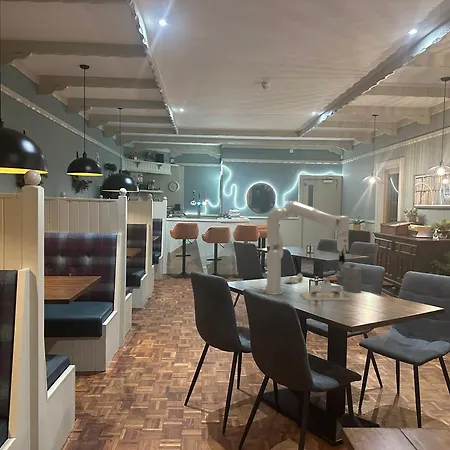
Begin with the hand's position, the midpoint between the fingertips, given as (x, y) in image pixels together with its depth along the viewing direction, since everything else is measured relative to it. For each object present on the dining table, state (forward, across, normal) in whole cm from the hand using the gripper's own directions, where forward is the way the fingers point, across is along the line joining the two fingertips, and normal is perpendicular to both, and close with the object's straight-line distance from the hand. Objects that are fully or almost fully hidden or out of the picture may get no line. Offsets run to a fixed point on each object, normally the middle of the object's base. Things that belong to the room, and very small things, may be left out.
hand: (341, 261), depth 286 cm
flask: (+25, +24, -16) cm, 38 cm away
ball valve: (+25, +3, +10) cm, 27 cm away
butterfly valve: (+25, +56, +20) cm, 64 cm away
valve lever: (+14, +3, +5) cm, 15 cm away
